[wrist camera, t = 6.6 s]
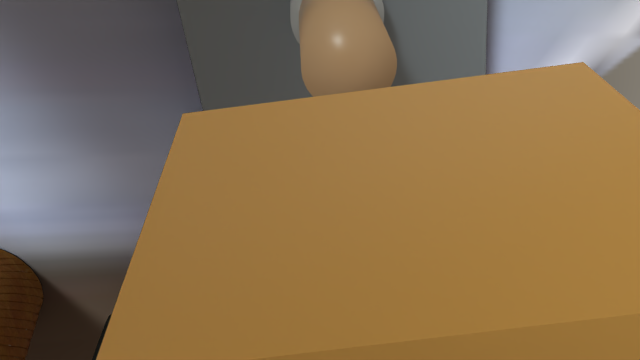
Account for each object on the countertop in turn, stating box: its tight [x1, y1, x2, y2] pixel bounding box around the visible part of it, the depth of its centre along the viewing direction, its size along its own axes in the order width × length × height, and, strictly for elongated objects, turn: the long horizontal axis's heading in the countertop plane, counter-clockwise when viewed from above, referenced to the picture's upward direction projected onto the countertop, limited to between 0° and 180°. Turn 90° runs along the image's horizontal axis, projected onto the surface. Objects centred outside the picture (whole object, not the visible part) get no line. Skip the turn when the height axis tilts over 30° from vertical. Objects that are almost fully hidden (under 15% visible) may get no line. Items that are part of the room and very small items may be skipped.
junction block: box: [177, 0, 487, 111], centre depth 22 cm, size 15×12×10 cm
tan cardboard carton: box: [96, 62, 640, 360], centre depth 8 cm, size 6×6×5 cm
